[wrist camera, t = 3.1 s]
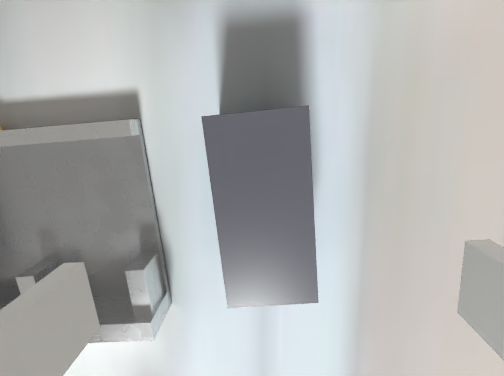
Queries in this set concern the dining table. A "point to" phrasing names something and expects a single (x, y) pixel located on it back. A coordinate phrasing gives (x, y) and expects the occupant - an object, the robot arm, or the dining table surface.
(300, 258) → the panel
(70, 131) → the rack
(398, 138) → the dining table surface
